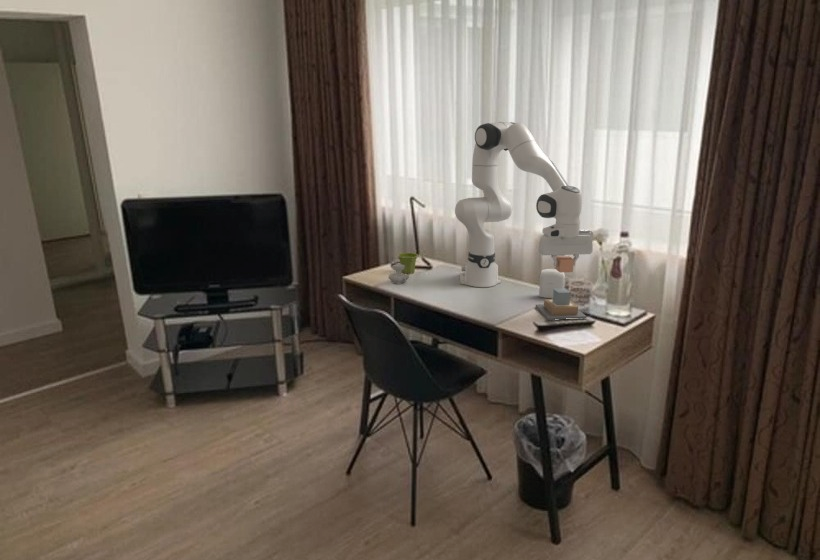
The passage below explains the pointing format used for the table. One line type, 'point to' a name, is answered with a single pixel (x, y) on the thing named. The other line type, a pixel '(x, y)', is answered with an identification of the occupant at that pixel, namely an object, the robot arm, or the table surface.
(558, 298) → the grey cube
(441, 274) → the table surface
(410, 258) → the plant pot
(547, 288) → the photo printer
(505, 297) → the table surface
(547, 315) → the build plate
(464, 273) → the robot arm
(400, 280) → the stamp
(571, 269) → the terracotta cube
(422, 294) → the table surface
